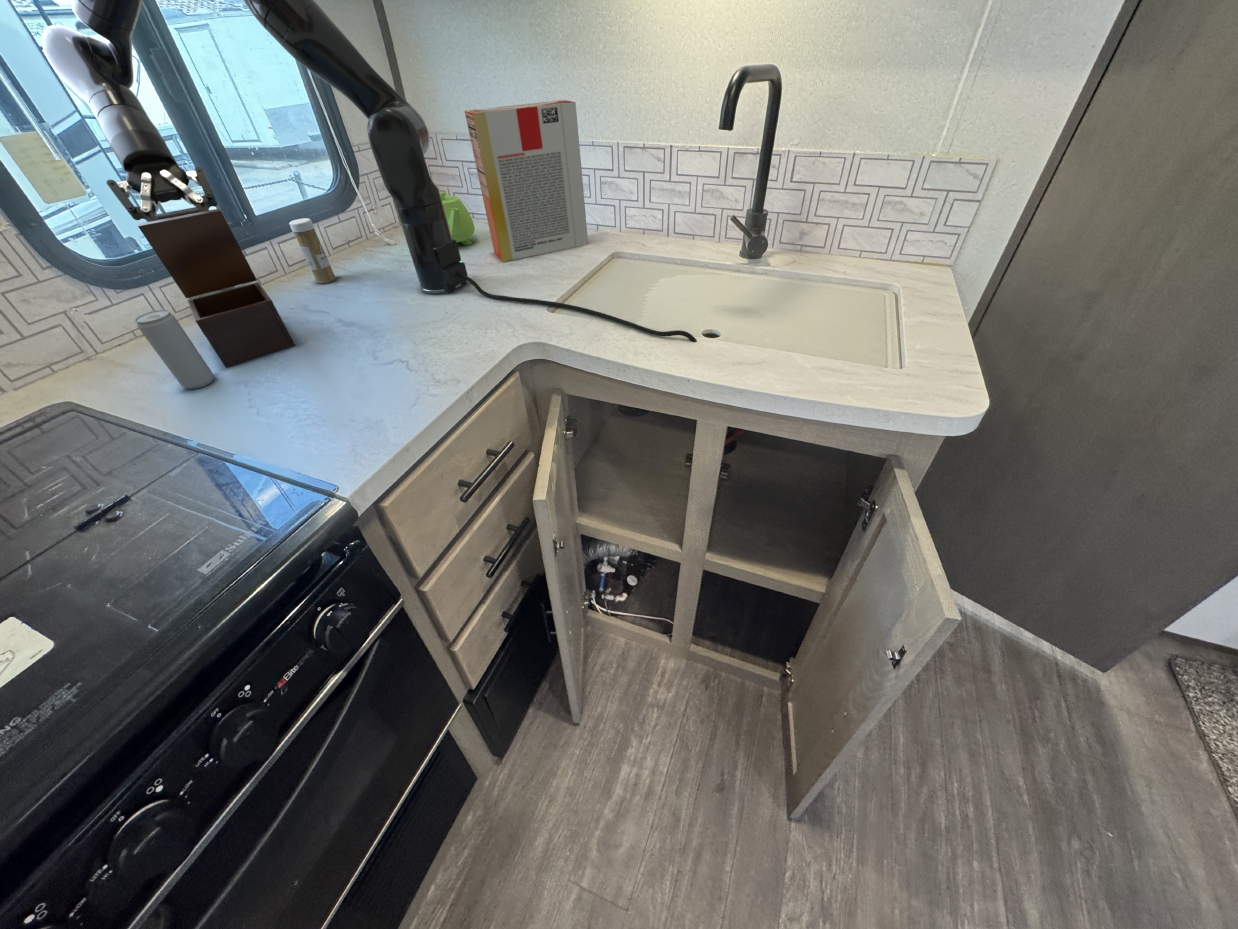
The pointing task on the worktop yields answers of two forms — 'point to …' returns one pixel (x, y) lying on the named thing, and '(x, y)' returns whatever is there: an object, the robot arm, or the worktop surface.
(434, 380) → the worktop surface
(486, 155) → the pasta box
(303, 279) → the worktop surface
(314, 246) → the sprinkles bottle
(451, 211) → the teapot
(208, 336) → the chest
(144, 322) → the beverage can
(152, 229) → the lid
